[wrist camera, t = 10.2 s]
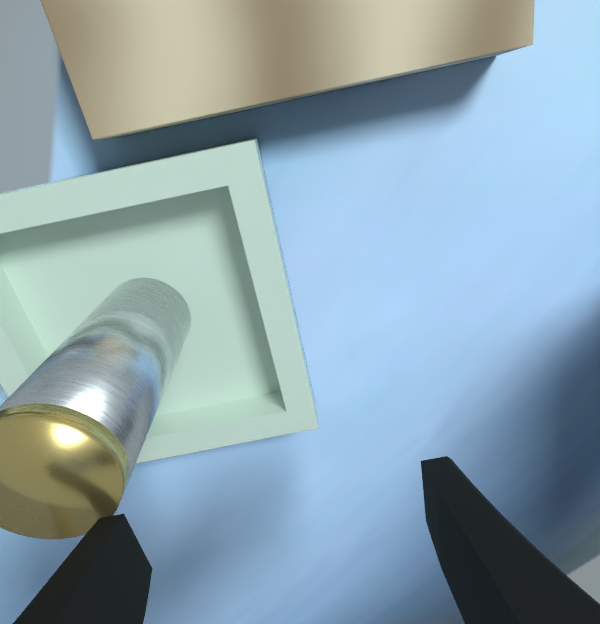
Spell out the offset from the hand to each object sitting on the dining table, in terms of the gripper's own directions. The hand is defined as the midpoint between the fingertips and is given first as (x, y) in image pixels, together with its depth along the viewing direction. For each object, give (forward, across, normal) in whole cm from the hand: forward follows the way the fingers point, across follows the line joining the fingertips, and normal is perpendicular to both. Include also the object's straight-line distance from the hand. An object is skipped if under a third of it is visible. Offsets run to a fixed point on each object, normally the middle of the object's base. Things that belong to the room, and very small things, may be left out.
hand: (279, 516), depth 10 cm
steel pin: (+9, +5, -2) cm, 11 cm away
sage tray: (+10, +5, -2) cm, 11 cm away
